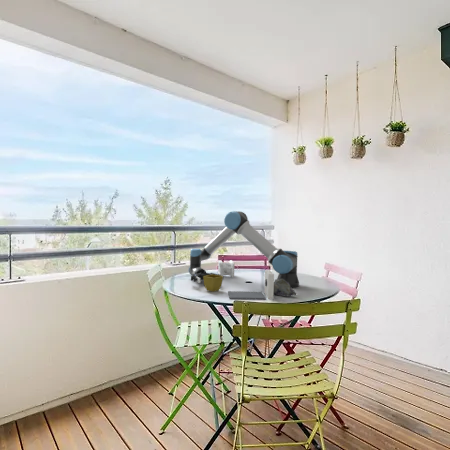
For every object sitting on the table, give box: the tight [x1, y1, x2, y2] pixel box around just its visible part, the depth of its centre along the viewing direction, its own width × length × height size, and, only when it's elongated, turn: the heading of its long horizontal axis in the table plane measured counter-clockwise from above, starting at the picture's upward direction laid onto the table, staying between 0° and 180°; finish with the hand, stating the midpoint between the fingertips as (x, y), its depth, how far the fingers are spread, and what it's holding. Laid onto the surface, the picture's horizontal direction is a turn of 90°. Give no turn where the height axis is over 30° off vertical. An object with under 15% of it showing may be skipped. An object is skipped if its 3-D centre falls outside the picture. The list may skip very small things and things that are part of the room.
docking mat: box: [227, 290, 267, 301], centre depth 191 cm, size 20×14×1 cm
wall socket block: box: [263, 269, 275, 300], centre depth 191 cm, size 4×12×14 cm, turn 3°
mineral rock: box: [273, 278, 297, 297], centre depth 193 cm, size 13×11×10 cm
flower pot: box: [203, 274, 224, 293], centre depth 202 cm, size 9×9×9 cm
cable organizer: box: [217, 259, 235, 279], centre depth 245 cm, size 15×11×12 cm
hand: (210, 280), depth 204 cm, fingers open, 13 cm apart
